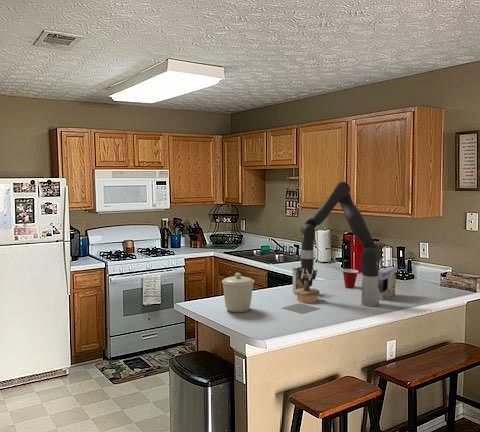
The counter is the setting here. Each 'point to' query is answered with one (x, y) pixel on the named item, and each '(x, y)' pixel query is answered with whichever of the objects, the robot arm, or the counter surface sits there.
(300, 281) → the coffee box
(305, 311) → the rubber mat
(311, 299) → the terracotta bowl
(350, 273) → the plastic cup
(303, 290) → the walnut lid
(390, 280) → the cake pan box
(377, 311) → the counter surface
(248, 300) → the canister
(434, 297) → the counter surface
